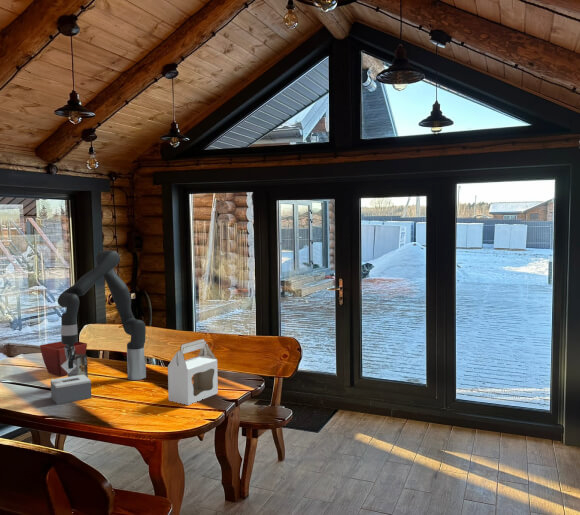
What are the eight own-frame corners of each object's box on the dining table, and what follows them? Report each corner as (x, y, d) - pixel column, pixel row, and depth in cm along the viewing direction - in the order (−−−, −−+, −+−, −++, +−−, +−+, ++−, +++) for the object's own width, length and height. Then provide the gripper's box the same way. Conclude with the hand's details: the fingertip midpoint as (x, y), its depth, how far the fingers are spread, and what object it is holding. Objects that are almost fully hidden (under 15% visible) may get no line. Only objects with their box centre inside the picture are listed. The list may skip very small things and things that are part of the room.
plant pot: (70, 366, 325) (69, 339, 324) (88, 371, 313) (87, 343, 312) (40, 373, 309) (39, 345, 308) (58, 379, 298) (57, 349, 297)
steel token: (67, 372, 265) (75, 365, 267) (68, 373, 264) (76, 366, 266) (60, 365, 263) (68, 358, 265) (61, 366, 262) (69, 359, 264)
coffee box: (77, 382, 291) (77, 353, 290) (88, 383, 290) (87, 354, 289) (67, 387, 282) (66, 358, 281) (78, 388, 281) (77, 358, 280)
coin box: (84, 391, 276) (83, 374, 275) (91, 398, 265) (90, 380, 265) (51, 397, 267) (50, 379, 266) (57, 404, 256) (56, 386, 255)
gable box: (187, 405, 254) (186, 347, 252) (167, 400, 261) (166, 344, 259) (218, 393, 272) (217, 339, 270) (199, 389, 279) (198, 336, 278)
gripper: (80, 334, 260) (81, 369, 262) (73, 330, 272) (74, 363, 273) (64, 336, 256) (65, 372, 257) (58, 332, 267) (59, 366, 268)
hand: (70, 367), depth 265 cm, fingers closed on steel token, 1 cm apart
